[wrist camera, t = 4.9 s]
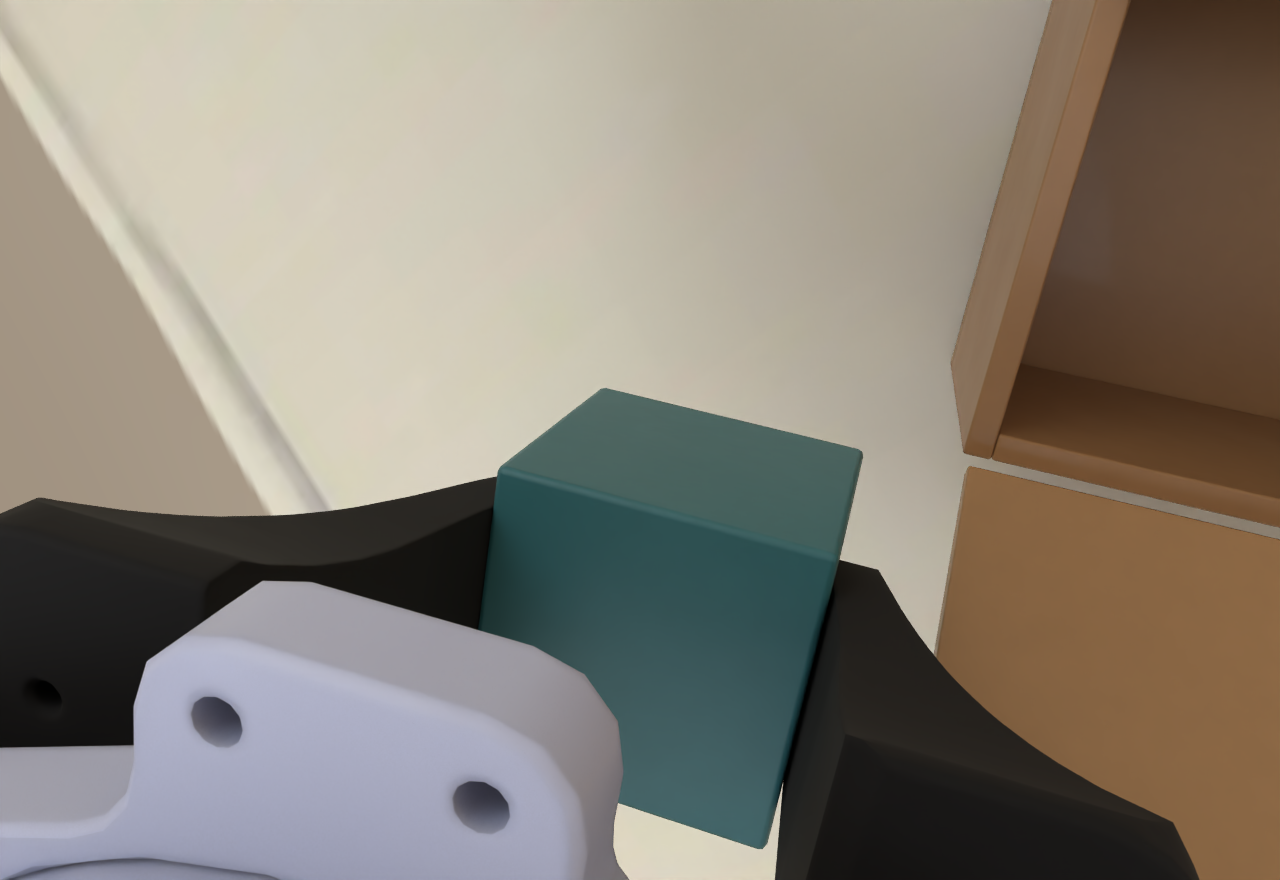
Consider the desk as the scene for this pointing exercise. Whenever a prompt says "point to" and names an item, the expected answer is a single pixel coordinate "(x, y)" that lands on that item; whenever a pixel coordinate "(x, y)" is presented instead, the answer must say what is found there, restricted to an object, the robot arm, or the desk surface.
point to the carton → (1137, 260)
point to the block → (676, 590)
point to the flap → (1127, 655)
